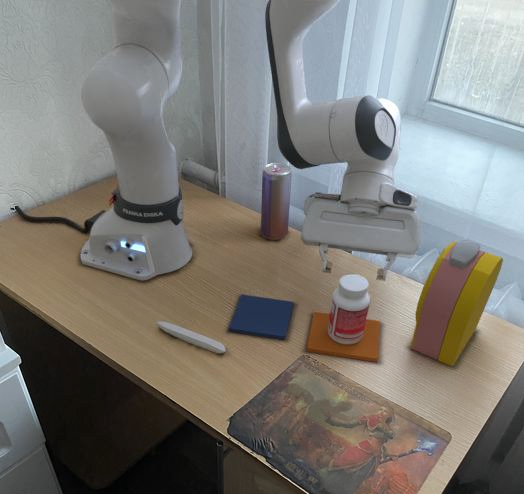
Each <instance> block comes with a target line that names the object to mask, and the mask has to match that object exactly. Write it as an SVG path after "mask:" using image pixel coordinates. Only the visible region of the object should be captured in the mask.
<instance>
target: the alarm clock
mask: <svg viewBox="0 0 524 494" xmlns="http://www.w3.org/2000/svg"><path fill="white" fill-rule="evenodd" d="M503 262H504V259H503V258H502V257H501V256H498V255H495V254H493V253H489V252H487V251H486V252H485V251H483V250H481V245H480V243H477V242H474V241H471V240H468V239H463V240H460V241H458V242H457V241H452V242H450V244H448V245H447V246H446V247H445V248H443V250H442V252H441V253H440V254H439V256H438V257H437V259H436V260H435V262H434V264H433V266H432V268H431V270H430V272H429V274H428V276H427V279H426V280H425V282H424V284H423V287H422V290H421V292H420V295H419V299H418V301H417V304H416V309H415V327H414V330H413V336H412V340H411V344H410V349H411V350H413V351H416V352H418V353H421V354H422V355H425V356H427V357H429V358H432V359H434V360H435V361H438V362H441V363H443V364H445V365H448V366H449V367H453V366H454V365H455V363H456V362H457V360H458V358H459V357H460V355H461V354H462V352H463V350H464V349H465V347H466V346H467V344H468V343H469V341H470V340H471V338H472V336H473V335H474V334H475V332H476V330H477V328H478V325H479V323H480V320H481V318H482V315H483V313H484V311H485V308H486V306H487V303H488V302H489V299H490V297H491V294H492V292H493V289H494V287H495V285H496V282H497V280H498V277H499V275H500V272H501V269H502V266H503Z"/></svg>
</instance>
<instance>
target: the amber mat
mask: <svg viewBox="0 0 524 494" xmlns="http://www.w3.org/2000/svg"><path fill="white" fill-rule="evenodd" d="M312 314H313V315H312V319H311V323H310V324H311V325H310V328H309V329H310V330H309V333H308V340H307V345H306V349H305V350H306V352H308V353H315V354H322V355H328V356H329V355H330V356H334V357H341V358H349V359H354V360H361V361H367V362H375V363H378V361H379V354H380V353H379V352H380V351H379V350H380V334H381V321H380V320H376V319H368V318H367V319H366V323H365V328H364V333H363V337H362V338H361V340H360V341H358V342H357V343H354V344H340V343H338V342H336V341H334V340H333V339H332V338H331V337H330V336H329V334H328V324H329V317H330V313H326V312H319V311H313V313H312Z"/></svg>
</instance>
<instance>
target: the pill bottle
mask: <svg viewBox="0 0 524 494" xmlns="http://www.w3.org/2000/svg"><path fill="white" fill-rule="evenodd" d="M369 285H370V284H369V281H368V279H366V277H364V276H362V275H360V274H355V273H352V274H351V273H349V274H345V275H343V276H341V277H340V279H339V281H338V287H336V289H335V290H334V291H333V293H332V297H331V305H330V312H329V314H330V317H329V324H328V334H329V336H330V337H331V338H332V339H333V340H334V341H336V342H338V343H340V344H354V343H357V342H358V341H360V340H361V338H362V337H363V333H364V328H365V323H366V319H368V313H369V309H370V304H371V296H370V293H369V292H368V291H369Z"/></svg>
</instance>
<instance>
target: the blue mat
mask: <svg viewBox="0 0 524 494" xmlns="http://www.w3.org/2000/svg"><path fill="white" fill-rule="evenodd" d="M294 305H295V301H291V300H283V299H277V298H269V297H263V296H256V295H249V294H240V297H239V300H238V301H237V305H236V308H235V310H234V314H233V316H232V319H231V321H230V324H229V325H228V326H229V327H228V332H231V333H238V334H242V335H243V334H244V335H250V336H255V337H256V336H257V337H264V338H269V339H276V340H282V341H283V340H286V337H287V334H288V329H289V325H290V321H291V317H292V312H293V309H294Z"/></svg>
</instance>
